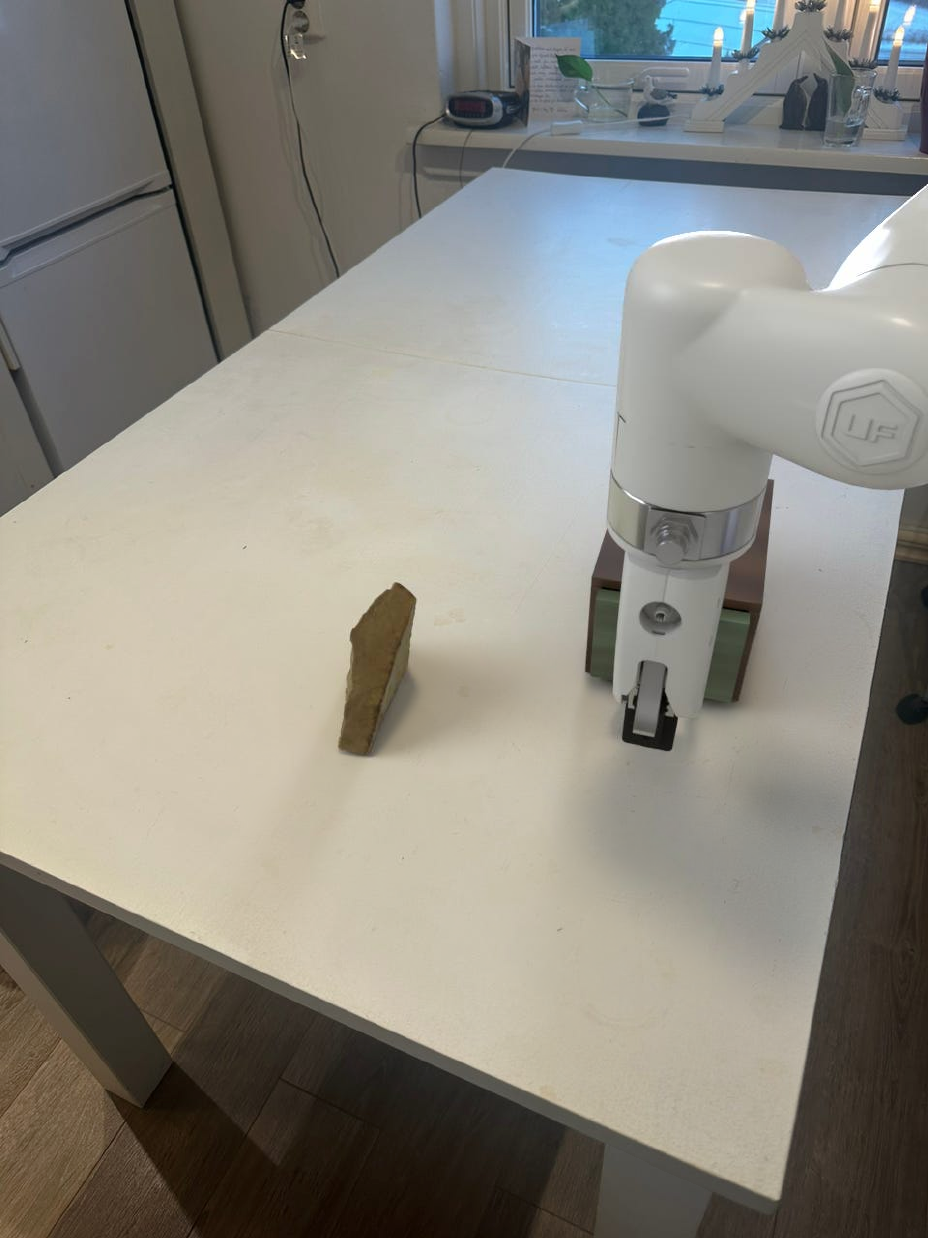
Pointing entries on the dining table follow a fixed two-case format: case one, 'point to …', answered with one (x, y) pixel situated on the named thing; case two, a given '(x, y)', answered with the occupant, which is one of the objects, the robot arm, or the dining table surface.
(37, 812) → the dining table surface
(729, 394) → the robot arm
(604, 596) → the drawer
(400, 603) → the rock
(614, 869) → the dining table surface
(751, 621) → the cabinet
